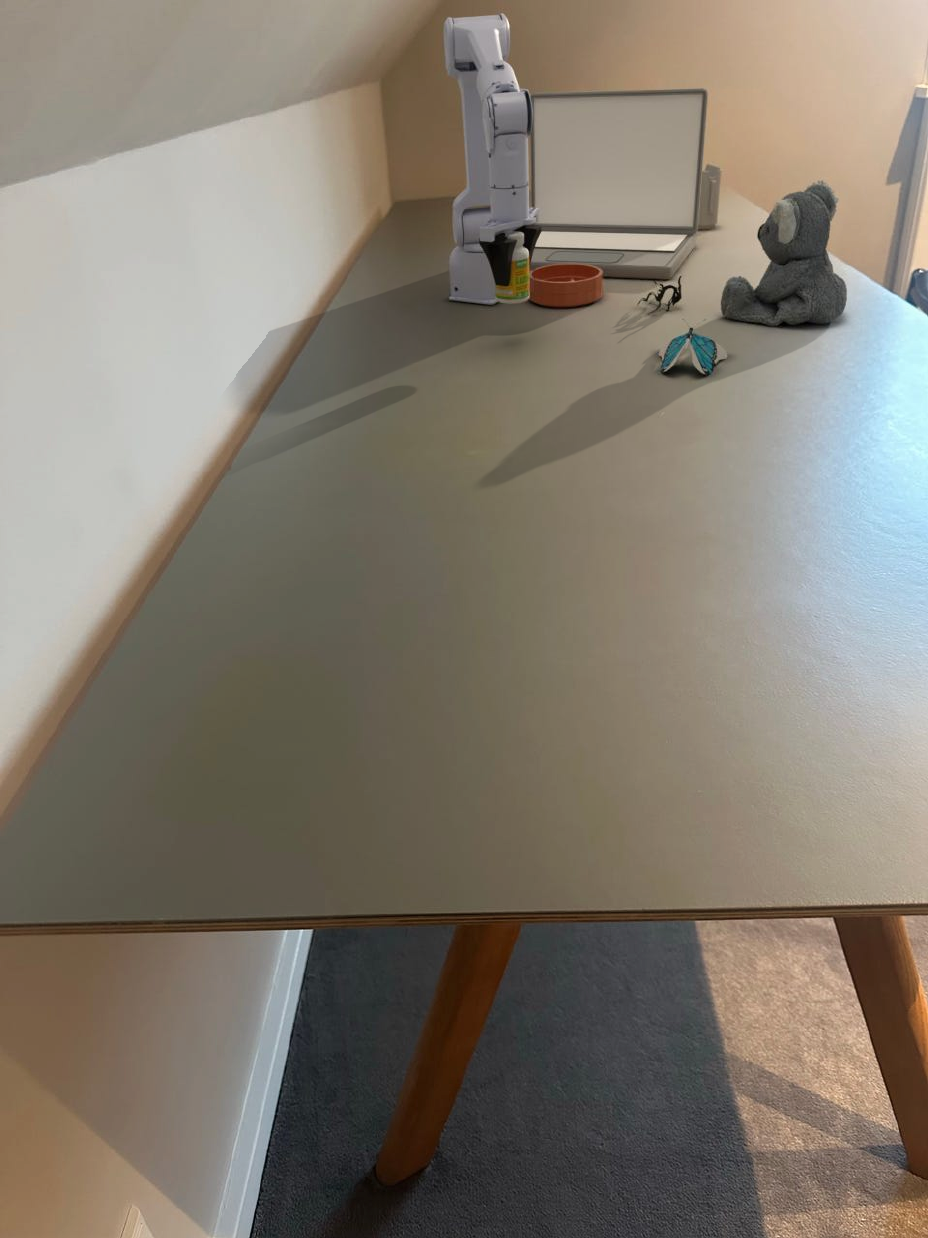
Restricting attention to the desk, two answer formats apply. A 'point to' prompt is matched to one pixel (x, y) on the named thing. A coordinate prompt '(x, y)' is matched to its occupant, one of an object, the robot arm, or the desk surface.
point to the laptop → (617, 178)
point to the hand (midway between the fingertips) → (511, 280)
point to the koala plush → (792, 265)
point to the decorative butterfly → (693, 351)
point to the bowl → (566, 285)
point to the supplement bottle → (516, 274)
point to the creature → (675, 297)
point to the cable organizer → (709, 197)
